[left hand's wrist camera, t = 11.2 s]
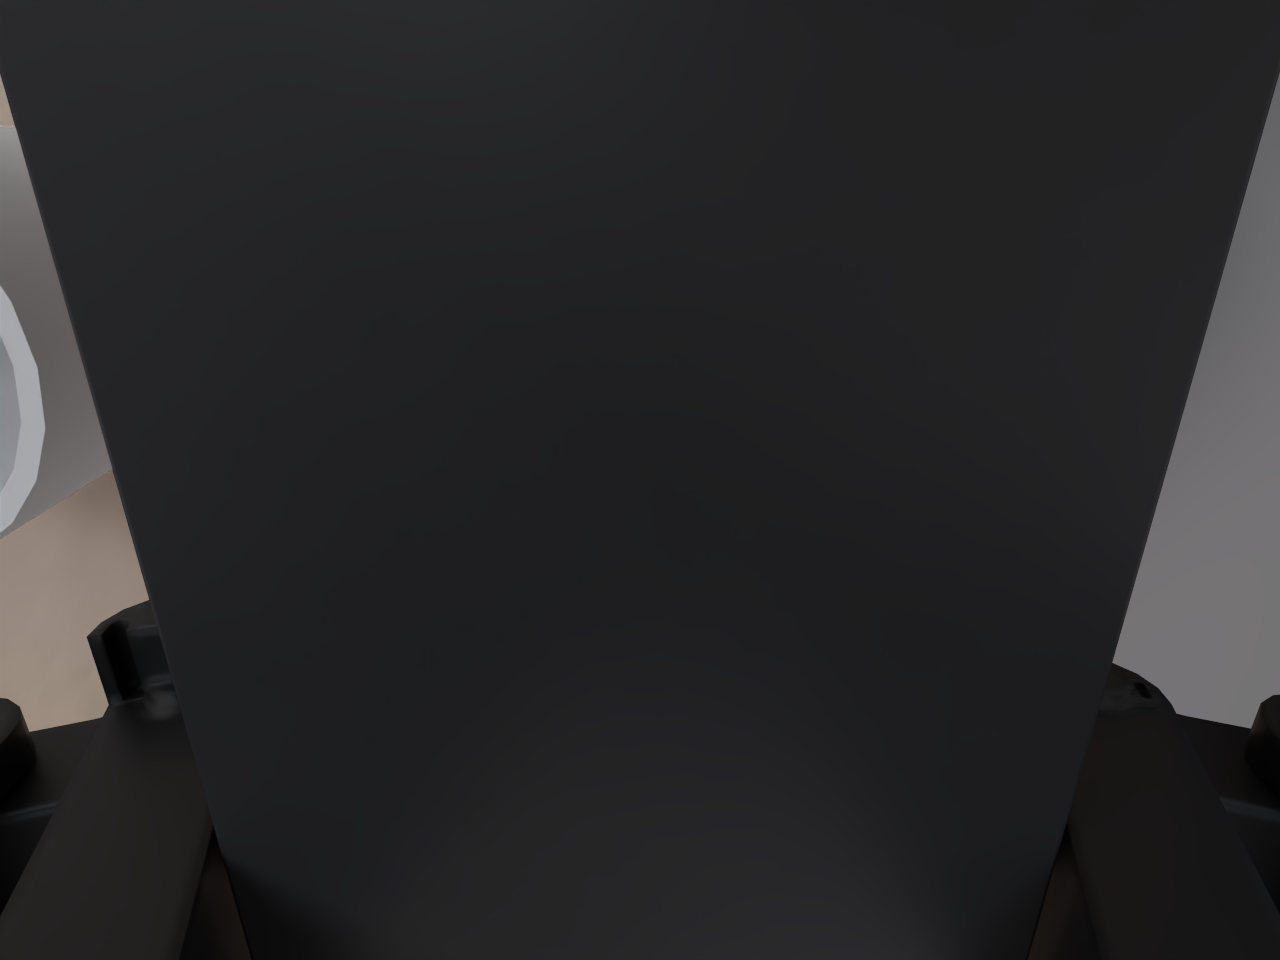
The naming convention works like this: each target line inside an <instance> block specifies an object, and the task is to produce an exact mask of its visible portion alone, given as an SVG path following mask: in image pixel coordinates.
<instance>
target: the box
mask: <svg viewBox="0 0 1280 960" xmlns="http://www.w3.org/2000/svg"><path fill="white" fill-rule="evenodd" d="M1279 72H1280V0H0V74H1V78H2V81H3V85H4V88H5V92H6V95H7V99H8V102H9V106H10V110H11V113H12V117H13V120H14V124H15V127H16V131H17V134H18V138H19V141H20V145H21V148H22V152H23V155H24V159H25V162H26V166H27V170H28V173H29V177H30V180H31V184H32V187H33V191H34V194H35V198H36V201H37V205H38V208H39V212H40V215H41V219H42V222H43V226H44V229H45V233H46V237H47V240H48V244H49V247H50V251H51V254H52V258H53V261H54V265H55V268H56V272H57V275H58V279H59V282H60V286H61V289H62V293H63V297H64V300H65V304H66V307H67V311H68V314H69V318H70V321H71V325H72V328H73V332H74V335H75V339H76V342H77V346H78V349H79V353H80V356H81V360H82V364H83V367H84V371H85V374H86V378H87V381H88V385H89V388H90V392H91V395H92V399H93V402H94V406H95V409H96V413H97V416H98V420H99V424H100V427H101V431H102V434H103V438H104V441H105V445H106V448H107V452H108V455H109V459H110V462H111V466H112V469H113V473H114V476H115V480H116V483H117V487H118V491H119V494H120V498H121V501H122V505H123V508H124V512H125V515H126V519H127V522H128V526H129V529H130V533H131V536H132V540H133V543H134V547H135V551H136V554H137V558H138V561H139V565H140V568H141V572H142V575H143V579H144V582H145V586H146V589H147V593H148V596H149V600H150V603H151V607H152V610H153V614H154V618H155V621H156V625H157V628H158V632H159V635H160V639H161V642H162V646H163V649H164V653H165V656H166V660H167V663H168V667H169V670H170V674H171V678H172V681H173V685H174V688H175V692H176V695H177V699H178V702H179V706H180V709H181V713H182V716H183V720H184V723H185V727H186V730H187V734H188V737H189V741H190V745H191V748H192V752H193V755H194V759H195V762H196V766H197V769H198V773H199V776H200V780H201V783H202V787H203V790H204V794H205V797H206V801H207V805H208V808H209V812H210V815H211V819H212V822H213V826H214V829H215V833H216V836H217V840H218V843H219V847H220V850H221V854H222V857H223V861H224V864H225V868H226V872H227V875H228V879H229V882H230V886H231V889H232V893H233V896H234V900H235V903H236V907H237V910H238V914H239V917H240V921H241V924H242V928H243V932H244V935H245V939H246V942H247V946H248V949H249V953H250V956H251V960H1028V957H1029V954H1030V950H1031V946H1032V943H1033V939H1034V936H1035V932H1036V929H1037V925H1038V922H1039V918H1040V915H1041V911H1042V908H1043V904H1044V901H1045V897H1046V894H1047V890H1048V887H1049V883H1050V880H1051V876H1052V872H1053V869H1054V865H1055V862H1056V858H1057V855H1058V851H1059V848H1060V844H1061V841H1062V837H1063V834H1064V830H1065V827H1066V823H1067V820H1068V816H1069V813H1070V809H1071V806H1072V802H1073V798H1074V795H1075V791H1076V788H1077V784H1078V781H1079V777H1080V774H1081V770H1082V767H1083V763H1084V760H1085V756H1086V753H1087V749H1088V746H1089V742H1090V739H1091V735H1092V731H1093V728H1094V724H1095V721H1096V717H1097V714H1098V710H1099V707H1100V703H1101V700H1102V696H1103V693H1104V689H1105V686H1106V682H1107V679H1108V675H1109V672H1110V668H1111V665H1112V661H1113V657H1114V654H1115V650H1116V647H1117V643H1118V640H1119V636H1120V633H1121V629H1122V626H1123V622H1124V618H1125V615H1126V611H1127V608H1128V605H1129V601H1130V597H1131V594H1132V590H1133V587H1134V583H1135V580H1136V576H1137V573H1138V569H1139V566H1140V562H1141V559H1142V555H1143V552H1144V548H1145V545H1146V541H1147V538H1148V534H1149V531H1150V527H1151V524H1152V520H1153V516H1154V513H1155V509H1156V506H1157V502H1158V499H1159V495H1160V492H1161V488H1162V485H1163V481H1164V478H1165V474H1166V471H1167V467H1168V464H1169V460H1170V457H1171V453H1172V450H1173V446H1174V442H1175V439H1176V435H1177V432H1178V428H1179V425H1180V421H1181V418H1182V414H1183V411H1184V407H1185V403H1186V400H1187V397H1188V393H1189V390H1190V386H1191V383H1192V379H1193V376H1194V372H1195V368H1196V365H1197V361H1198V358H1199V354H1200V351H1201V347H1202V344H1203V340H1204V337H1205V333H1206V330H1207V326H1208V323H1209V319H1210V316H1211V312H1212V309H1213V305H1214V301H1215V298H1216V294H1217V291H1218V287H1219V284H1220V280H1221V277H1222V273H1223V269H1224V266H1225V263H1226V259H1227V256H1228V252H1229V249H1230V245H1231V242H1232V238H1233V234H1234V231H1235V228H1236V224H1237V220H1238V217H1239V213H1240V210H1241V206H1242V203H1243V199H1244V196H1245V192H1246V189H1247V185H1248V182H1249V178H1250V175H1251V171H1252V168H1253V164H1254V161H1255V157H1256V153H1257V150H1258V146H1259V143H1260V139H1261V136H1262V132H1263V129H1264V125H1265V122H1266V118H1267V115H1268V111H1269V108H1270V104H1271V100H1272V97H1273V94H1274V90H1275V87H1276V83H1277V80H1278V76H1279Z"/></svg>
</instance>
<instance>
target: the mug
mask: <svg viewBox="0 0 1280 960" xmlns="http://www.w3.org/2000/svg"><path fill="white" fill-rule="evenodd" d="M111 469H112V466H111V462H110V459H109V455H108V452H107V448H106V445H105V441H104V438H103V434H102V431H101V427H100V424H99V420H98V416H97V413H96V409H95V406H94V402H93V399H92V395H91V392H90V388H89V385H88V381H87V378H86V374H85V371H84V367H83V364H82V360H81V356H80V353H79V349H78V346H77V342H76V339H75V335H74V332H73V328H72V325H71V321H70V318H69V314H68V311H67V307H66V304H65V300H64V297H63V293H62V289H61V286H60V282H59V279H58V275H57V272H56V268H55V265H54V261H53V258H52V254H51V251H50V247H49V244H48V240H47V237H46V233H45V229H44V226H43V222H42V219H41V215H40V212H39V208H38V205H37V201H36V198H35V194H34V191H33V187H32V184H31V180H30V177H29V173H28V170H27V166H26V162H25V159H24V155H23V152H22V148H21V145H20V141H19V138H18V134H17V131H16V127H9V126H3V125H0V539H1V538H3V537H4V536H6V535H8V534H9V533H11V532H12V531H14V530H16V529H17V528H19V527H20V526H22V525H24V524H25V523H27V522H28V521H30V520H32V519H33V518H35V517H36V516H38V515H40V514H41V513H43V512H44V511H46V510H48V509H49V508H51V507H52V506H54V505H56V504H57V503H59V502H60V501H62V500H64V499H65V498H67V497H68V496H70V495H72V494H73V493H75V492H76V491H78V490H80V489H81V488H83V487H84V486H86V485H88V484H89V483H91V482H92V481H94V480H96V479H97V478H99V477H100V476H102V475H104V474H105V473H107V472H108V471H110V470H111Z"/></svg>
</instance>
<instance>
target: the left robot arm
mask: <svg viewBox="0 0 1280 960" xmlns="http://www.w3.org/2000/svg"><path fill="white" fill-rule="evenodd" d="M87 639H88V642H89V645H90V648H91V651H92V654H93V657H94V660H95V663H96V667H97V670H98V673H99V676H100V679H101V682H102V685H103V688H104V691H105V694H106V697H107V700H108V703H109V706H108V708H107V710H106V712H105V714H104V716H103V717H102V718H98V719H94V720H89V721H84V722H79V723H74V724H68V725H63V726H58V727H53V728H48V729H43V730H38V731H33V732H29V730H28V727H27V725H26V722H25V719H24V717H23V714H22V712H21V709H20V707H19V706H18V705H16V704H15V703H13V702H12V701H10V700H9V699H4V698H0V960H251V956H250V953H249V949H248V946H247V942H246V939H245V935H244V932H243V928H242V924H241V921H240V917H239V914H238V910H237V907H236V903H235V900H234V896H233V893H232V889H231V886H230V882H229V879H228V875H227V872H226V868H225V864H224V861H223V857H222V854H221V850H220V847H219V843H218V840H217V836H216V833H215V829H214V826H213V822H212V819H211V815H210V812H209V808H208V805H207V801H206V797H205V794H204V790H203V787H202V783H201V780H200V776H199V773H198V769H197V766H196V762H195V759H194V755H193V752H192V748H191V745H190V741H189V737H188V734H187V730H186V727H185V723H184V720H183V716H182V713H181V709H180V706H179V702H178V699H177V695H176V692H175V688H174V685H173V681H172V678H171V674H170V670H169V667H168V663H167V660H166V656H165V653H164V649H163V646H162V642H161V639H160V635H159V632H158V628H157V625H156V621H155V618H154V614H153V610H152V607H151V603H150V600H148V601H145V602H143V603H140V604H137V605H135V606H132V607H129V608H127V609H124V610H122V611H120V612H119V613H117V614H115V615H113V616H112V617H110V618H108V619H107V620H105V621H103V622H101V623H100V624H99V625H98V626H97V627H96V628H95V629H94V630H93V631H92V632H91V633H90V634H89V635H88V636H87ZM1028 960H1280V695H1273V696H1271V697H1270V698H1268V699H1267V700H1265V701H1264V702H1262V703H1261V704H1260V707H1259V710H1258V712H1257V715H1256V717H1255V720H1254V723H1253V725H1252V728H1251V729H1250V728H1244V727H1239V726H1234V725H1229V724H1224V723H1219V722H1213V721H1209V720H1203V719H1198V718H1193V717H1188V716H1184V715H1180V714H1176V712H1175V710H1174V708H1173V706H1172V704H1171V703H1170V702H1169V701H1168V699H1167V698H1166V697H1165V696H1164V695H1163V693H1162V692H1161V691H1160V690H1159V689H1158V688H1157V687H1156V686H1154V685H1153V684H1151V683H1150V682H1148V681H1147V680H1145V679H1144V678H1142V677H1141V676H1140V675H1138V674H1136V673H1134V672H1132V671H1129V670H1127V669H1125V668H1123V667H1120V666H1118V665H1116V664H1113V663H1112V665H1111V668H1110V672H1109V675H1108V679H1107V682H1106V686H1105V689H1104V693H1103V696H1102V700H1101V703H1100V707H1099V710H1098V714H1097V717H1096V721H1095V724H1094V728H1093V731H1092V735H1091V739H1090V742H1089V746H1088V749H1087V753H1086V756H1085V760H1084V763H1083V767H1082V770H1081V774H1080V777H1079V781H1078V784H1077V788H1076V791H1075V795H1074V798H1073V802H1072V806H1071V809H1070V813H1069V816H1068V820H1067V823H1066V827H1065V830H1064V834H1063V837H1062V841H1061V844H1060V848H1059V851H1058V855H1057V858H1056V862H1055V865H1054V869H1053V872H1052V876H1051V880H1050V883H1049V887H1048V890H1047V894H1046V897H1045V901H1044V904H1043V908H1042V911H1041V915H1040V918H1039V922H1038V925H1037V929H1036V932H1035V936H1034V939H1033V943H1032V946H1031V950H1030V954H1029V957H1028Z"/></svg>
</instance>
